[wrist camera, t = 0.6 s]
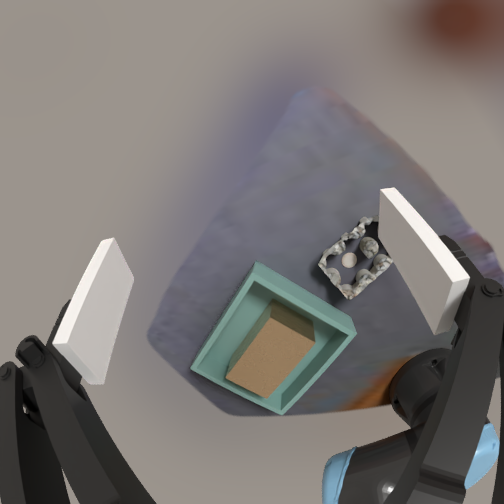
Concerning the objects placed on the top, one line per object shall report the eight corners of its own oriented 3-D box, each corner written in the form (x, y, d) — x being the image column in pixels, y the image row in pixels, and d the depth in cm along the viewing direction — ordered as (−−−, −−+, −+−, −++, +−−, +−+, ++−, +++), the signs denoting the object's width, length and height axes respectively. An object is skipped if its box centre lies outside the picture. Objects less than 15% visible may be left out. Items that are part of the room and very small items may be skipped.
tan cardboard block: (312, 321, 45) (315, 342, 39) (269, 375, 48) (266, 398, 43) (272, 298, 45) (270, 317, 39) (232, 355, 48) (225, 377, 42)
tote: (350, 317, 45) (356, 333, 40) (283, 396, 50) (282, 415, 46) (256, 260, 44) (252, 272, 40) (198, 351, 50) (189, 368, 45)
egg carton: (342, 292, 45) (346, 304, 41) (312, 254, 44) (314, 262, 40) (400, 248, 42) (409, 257, 38) (372, 207, 41) (379, 211, 37)
